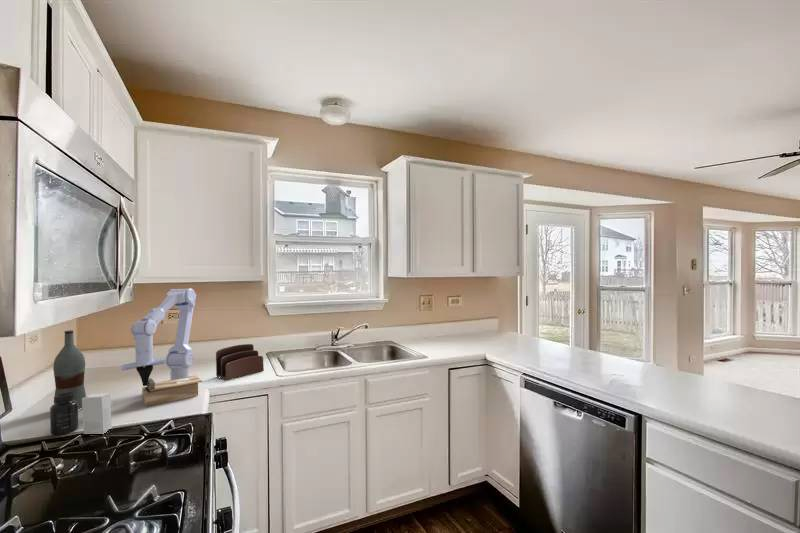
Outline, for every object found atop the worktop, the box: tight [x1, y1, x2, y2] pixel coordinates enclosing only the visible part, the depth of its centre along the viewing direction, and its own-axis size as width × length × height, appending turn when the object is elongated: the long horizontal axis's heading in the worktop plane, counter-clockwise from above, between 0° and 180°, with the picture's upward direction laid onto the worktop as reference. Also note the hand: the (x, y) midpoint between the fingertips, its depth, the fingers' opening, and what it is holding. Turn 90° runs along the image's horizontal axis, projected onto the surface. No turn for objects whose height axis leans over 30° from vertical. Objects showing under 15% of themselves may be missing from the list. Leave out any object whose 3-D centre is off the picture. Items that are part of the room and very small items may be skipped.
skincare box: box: [81, 392, 113, 435], centre depth 119 cm, size 6×4×12 cm
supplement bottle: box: [49, 392, 79, 436], centre depth 122 cm, size 7×7×12 cm
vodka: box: [52, 329, 87, 410], centre depth 143 cm, size 9×9×30 cm
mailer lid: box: [146, 375, 203, 392], centre depth 154 cm, size 11×18×3 cm, turn 131°
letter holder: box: [215, 343, 265, 381], centre depth 188 cm, size 10×20×14 cm, turn 142°
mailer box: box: [141, 383, 199, 407], centre depth 153 cm, size 11×18×5 cm, turn 131°
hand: (145, 385), depth 148 cm, fingers closed
